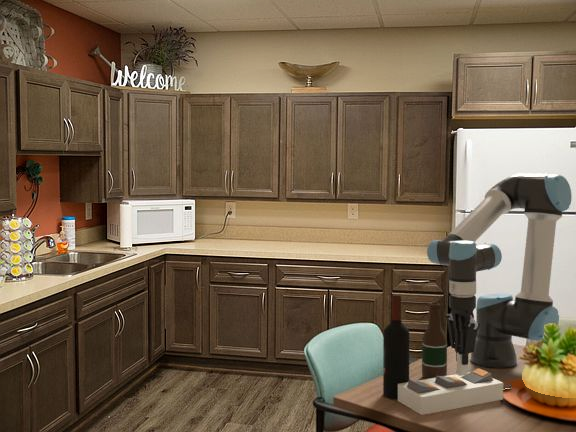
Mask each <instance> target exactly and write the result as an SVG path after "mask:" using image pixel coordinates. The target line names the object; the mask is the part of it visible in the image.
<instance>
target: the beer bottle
mask: <svg viewBox="0 0 576 432" xmlns="http://www.w3.org/2000/svg"><path fill="white" fill-rule="evenodd" d="M428 307H429V313H428V325H427V328H426V329H425V331H424V333H423V335H422V340H421V376H422V377H423V378H424V379H430V378H436V376H448V375H447V374H448V373H447V370H448V362H447V361H448V339H447V336H446V333H445V331H444V330H443V327H442V324H441V323H442V322H441V319H442V318H441V307H442V306H441V303H439V302H435V301H434V302H430V303H429V304H428Z"/></svg>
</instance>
